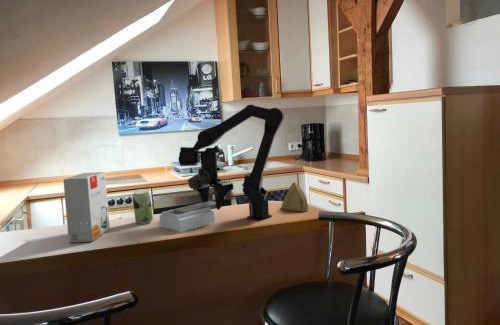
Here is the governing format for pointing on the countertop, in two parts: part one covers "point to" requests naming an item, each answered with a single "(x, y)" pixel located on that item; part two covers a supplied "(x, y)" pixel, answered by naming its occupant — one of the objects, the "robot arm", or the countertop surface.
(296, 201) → the rock
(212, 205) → the cover plate
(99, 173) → the hard drive box
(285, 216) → the countertop surface
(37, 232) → the countertop surface
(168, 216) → the lidded box
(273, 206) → the countertop surface
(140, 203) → the beverage can
